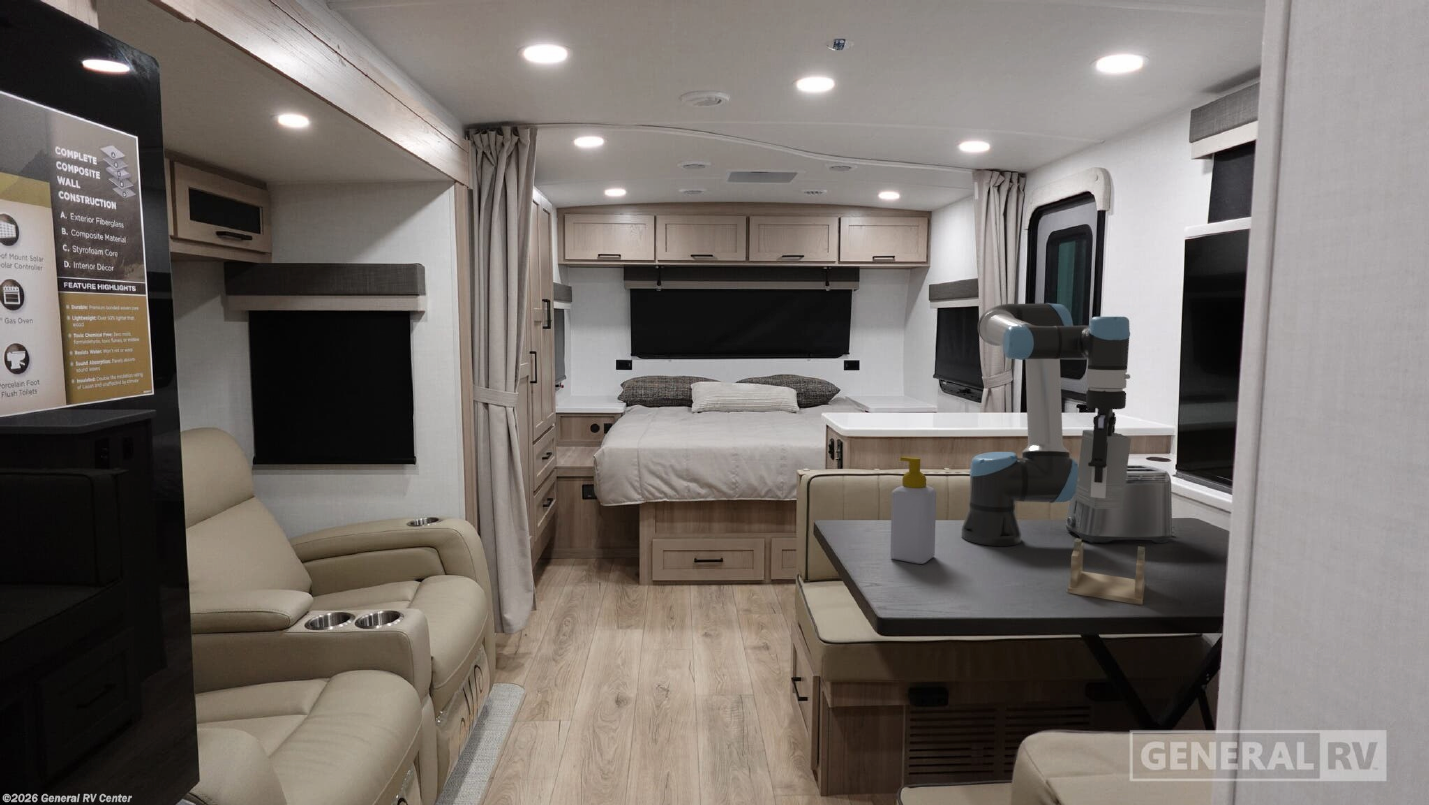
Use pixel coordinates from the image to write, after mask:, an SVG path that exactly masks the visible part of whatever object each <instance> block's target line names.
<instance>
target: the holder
mask: <svg viewBox="0 0 1429 805" xmlns="http://www.w3.org/2000/svg"><path fill="white" fill-rule="evenodd" d="M1082 541H1083V540H1082V539H1081V538H1078V537H1076V538H1075V539H1074V544H1073V551H1072V554H1071V556H1070V557H1071V559H1070V577H1069V578H1070V579H1069V580H1070V582H1069V584H1068V586H1067V587H1068V588H1067V593H1068V594H1074V595H1079V596H1085V597H1091V598H1092V597H1093V598H1097V599H1098V598H1099V599H1103V600H1104V599H1105V600H1111V601H1116V602H1123V603H1128V604H1135V605H1140V606H1142V605H1143V602H1144V601H1143V600H1144V595H1145V587H1146V581H1145V580H1144V577H1145V562H1146V561H1145V560H1146V559H1145V557H1146V548H1145V547H1146V546H1137V557H1136V565H1135V578H1127V577H1121V576H1117V575H1116V576H1115V575H1109V574H1102V573H1096V572H1091V571H1090V572H1089V571H1083V566H1084V565H1083V561H1084V545H1085V544H1084V542H1082Z"/></svg>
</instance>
